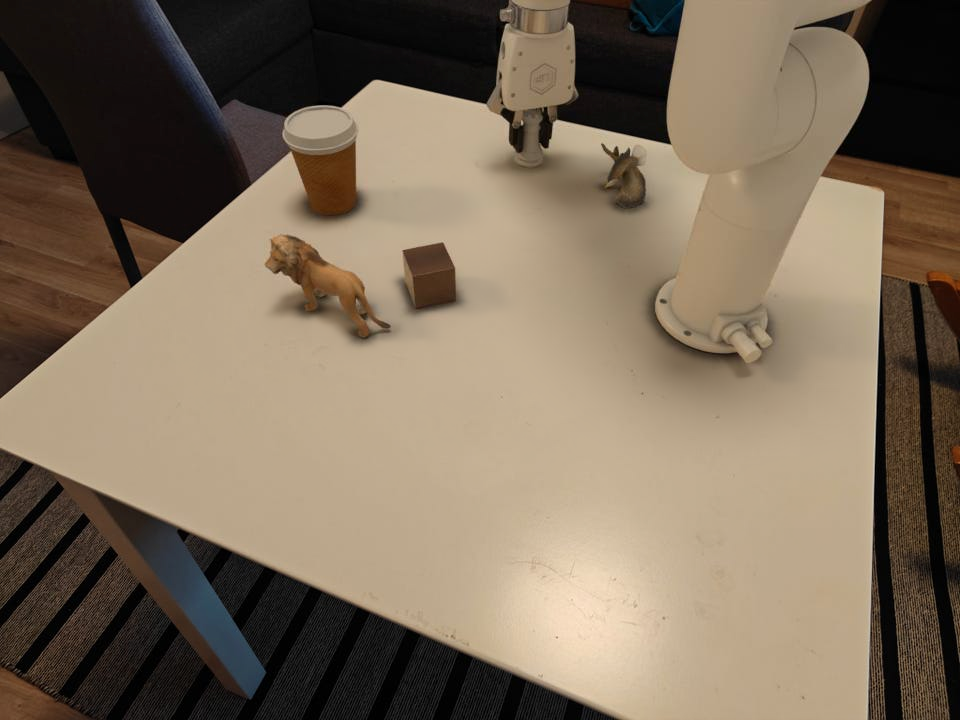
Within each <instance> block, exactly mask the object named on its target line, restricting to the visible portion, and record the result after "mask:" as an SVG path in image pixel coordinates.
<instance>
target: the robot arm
mask: <svg viewBox="0 0 960 720" xmlns="http://www.w3.org/2000/svg"><path fill="white" fill-rule="evenodd" d="M871 1H872V0H684V3H683V9H682V15H681V20H680V26H679V31H678V35H677V36H678V37H677V40H676V41H677V42H676V48H675V52H674V58H673V64H672V69H671V74H670V81H669V86H668V93H667V99H666V100H667V101H666V102H667V104H666V126H667V133H668V138H669V141H670V145H671V147H672V149H673V151H674V153H675V155H676V156H677V158H678V159H679V160H680V162H681V163H682V164H683V165H685V167H687V168H688V169H690V170H692V171H694V172H696V173H699V174H702V175H703V174H705V175H708V177H707V180H706V181H705V182H706V183H705V186H704V189H703V192H702V195H701V198H700V201H699V203H698V207H697V211H696V213H695V217H694V221H693V224H692V228H691V230H690V234H689V237H688V240H687V243H686V246H685V250H684V253H683V257H682V260H681V262H680V265H679V266H680V267H679V269H678V273H677V275H676V277H673V278H672V279H669V280H668V281H667V282H666V283H663V285H662V287H660V289H659V290H658V292H657V295H656V299H655V302H654V312H655V315H656V318H657V320H658V321H659V323H660V326H661V327H662V328H663V329H664V330H665V331H666V332H667V333H669V335H670V336H672V337H673V338H674V339H675V340H678V342H681V343H683V344H684V345H686V346H689V347H691V348H693V349H696V350H700V351H703V352H707V353H714V354H731V353H737V354H738V355H739V357H741V359H742V360H743V361H744V362H745V363H746V364H751V363H754V362H755V361H756V360H758V359H759V358H760V357H761V356H762V352H763V351H762V350H761V349H760V348H762V349H766V348H768V347H769V346H771V345H772V344H773V340H774V339H772V337H771V336H770V335H769V334H768V333H767V332H766V329H767V327H768V320H769V319H768V313H767V311H768V309H767V308H766V307H765V306H764V304H763V301H764V299H765V297H766V294H767V292H768V290H769V288H770V286H771V284H772V282H773V279H774V277H775V275H776V272H777V270H778V268H779V266H780V263H781V262H782V259H783V257H784V254H785V252H786V250H787V248H788V246H789V243H790V242H791V239H792V237H793V235H794V233H795V230H796V228H797V226H798V224H799V222H800V219H801V218H802V216H803V214H804V211H805V210H806V207H807V205H808V203H809V200H810V198H811V197H812V194H813V192H814V191H815V188H816V186H817V184H818V183H819V181H820V178H821V177H822V175H823V173H824V171H825V170H826V168H827V166H828V164H829V163H830V161H831V160H832V159H833V157H834V156H835V154H836V153H837V151H838V149H839V148H840V147H841V145H842V144H843V142H844V140H845V139H846V137H847V136H848V134H849V133H850V131H851V129H852V128H853V126H854V125H855V123H856V121H857V120H858V118H859V116H860V113H861V111H862V109H863V107H864V104H865V101H866V98H867V94H868V90H869V83H870V68H869V63H868V58H867V56H866V53H865V52H864V50H863V48H862V47H861V45H860V44H859V43H858V41H857V40H856V39H855V38H853V37H852V36H851V35H850V34H848V33H846V32H844V31H842V30H839V29H836V28H833V27H826V26H809V27H802V26H806V25H810V24H813V23H817V22H821V21H825V20H828V19H831V18H834V17H838V16H840V15H843V14H846V13H849V12H852V11H855V10H857V9H859V8H861V7H863V6H865V5H867V4H869V3H870V2H871ZM570 6H571V0H508V5H507V7H506V8H502V9H500V10H499V19H500V21H501V22H507V23H506V24H505V26H504V28H503V33H502V37H501V42H500V48H499V53H498V59H497V69H496V81H495V82H496V84H495V85H496V86H495V88H494V89H493V91H492V93H491V95H490V97H489V98H488V100H487V102H486V104H485V105H486V107H487V109H488V110H489V111H490V112H491V113H493V114H496V115H498V116H500V117H502V118H503V119H504V120H505V121H506V122H507V123H509V124H508V143H509V145H510V146H511V147H513V149H514V151H515V150H516V152H517V153H521V152H522V151H523V137H524V128H523V126H522V122H523V121H522V116H523V111H524V110H528V109H530V110H532V109H535V108H536V109H538V108H539V109H541V115H542V116H543V119H542V121H541V122H540V123H539V125H540V127H541V128H540V130H539V143H540V145H541V148H542V149H545V150H546V149H549V147H550V140H552V139H553V138H552V137H553V129H554V123H555V122H556V121H557V120H558V116H559V115H560V114H561V113H562V112H563V111H564V110H565V109H566V108H567V105H570V104H571V103H572V102H574V101H576V100H577V99H578V97H579V92H578V90H577V88H576V86H575V77H576V76H575V75H576V40H575V39H576V38H575V29H574V25H573V24H572V23H570V21H569V17H570V16H569V15H570V8H571V7H570ZM799 27H802V28H799ZM795 28H796V29H795ZM502 103H503V104H502ZM757 344H758V345H759V346H760V348H759V347H758V345H757Z"/></svg>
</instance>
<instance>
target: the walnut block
mask: <svg viewBox="0 0 960 720" xmlns="http://www.w3.org/2000/svg"><path fill="white" fill-rule="evenodd" d="M401 251H402V260H403V270H404V272H403V273H404V281H405V285H406V287H407V290H408V293H409V295H410V298H411V301H412V303H413V306H414V309H416V310H417V309H421V308H425V307H430V306H435V305H440V304H443V303H450V302H454V301H456V300H457V288H456V286H457V285H456V282H457V281H456V267H455V264H454V262H453V260H452V257H451V256H450V254H449V252H448V249H447V247H446V245H445V243H444V242H438V243H437V242H436V243H432V244H426V245H420V246H416V247H411V248H406V249H402V250H401Z"/></svg>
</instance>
